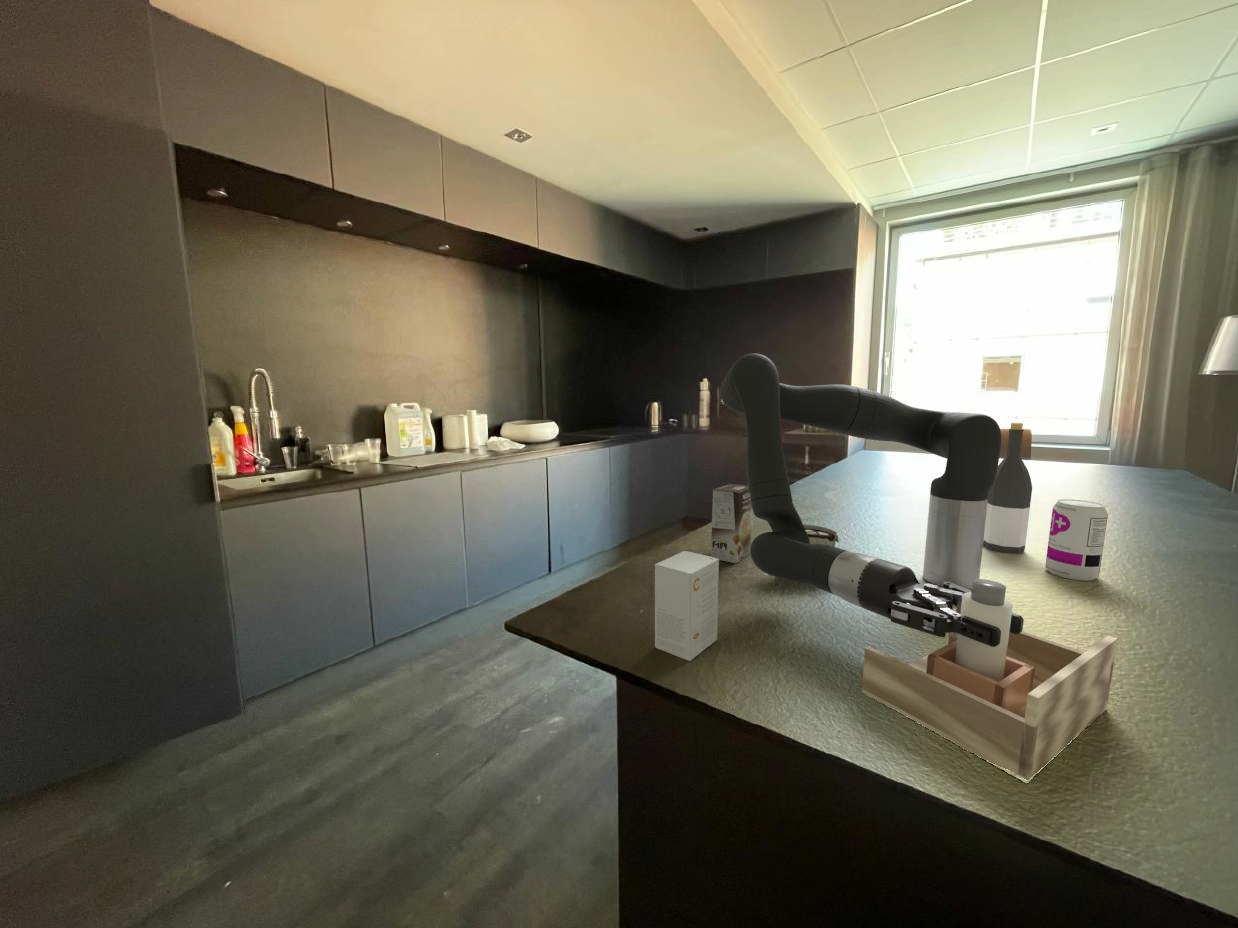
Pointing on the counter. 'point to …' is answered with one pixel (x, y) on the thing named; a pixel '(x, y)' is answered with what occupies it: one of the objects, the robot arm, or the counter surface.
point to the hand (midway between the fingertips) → (1009, 631)
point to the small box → (686, 604)
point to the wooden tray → (1000, 697)
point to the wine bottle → (1009, 500)
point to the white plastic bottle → (991, 609)
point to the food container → (821, 535)
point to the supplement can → (1076, 539)
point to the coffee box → (731, 523)
